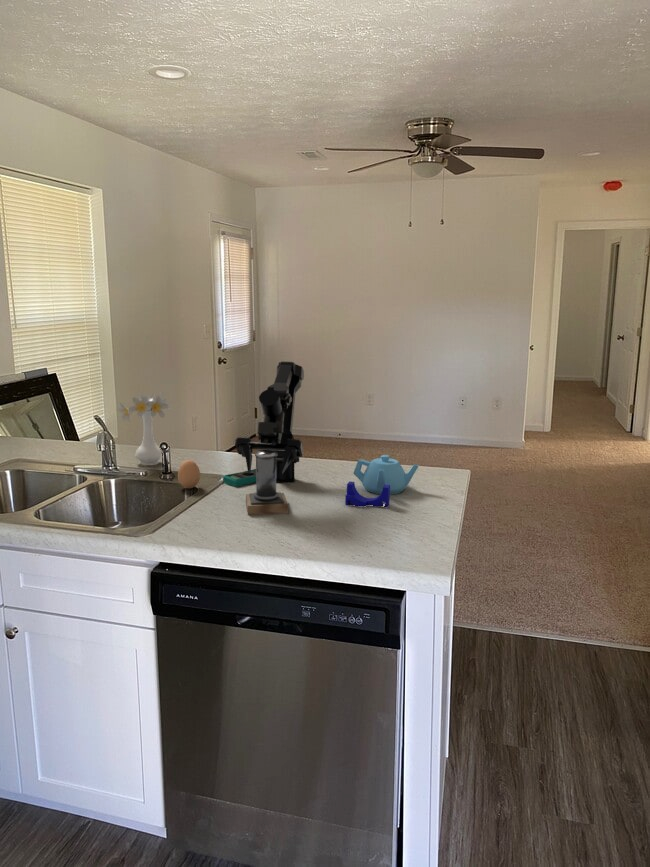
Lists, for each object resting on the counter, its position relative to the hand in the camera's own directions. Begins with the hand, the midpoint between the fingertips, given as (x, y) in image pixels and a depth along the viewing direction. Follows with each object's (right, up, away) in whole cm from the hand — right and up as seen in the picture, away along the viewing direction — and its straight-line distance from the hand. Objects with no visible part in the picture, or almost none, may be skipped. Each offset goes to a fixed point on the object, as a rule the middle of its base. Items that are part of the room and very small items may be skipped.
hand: (265, 472), depth 185 cm
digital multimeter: (-9, -5, +30) cm, 32 cm away
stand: (0, -10, +4) cm, 11 cm away
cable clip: (+29, -10, +8) cm, 31 cm away
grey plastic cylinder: (0, -7, +3) cm, 8 cm away
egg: (-25, -6, +21) cm, 34 cm away
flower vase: (-45, 0, +49) cm, 66 cm away
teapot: (+35, -7, +23) cm, 43 cm away
